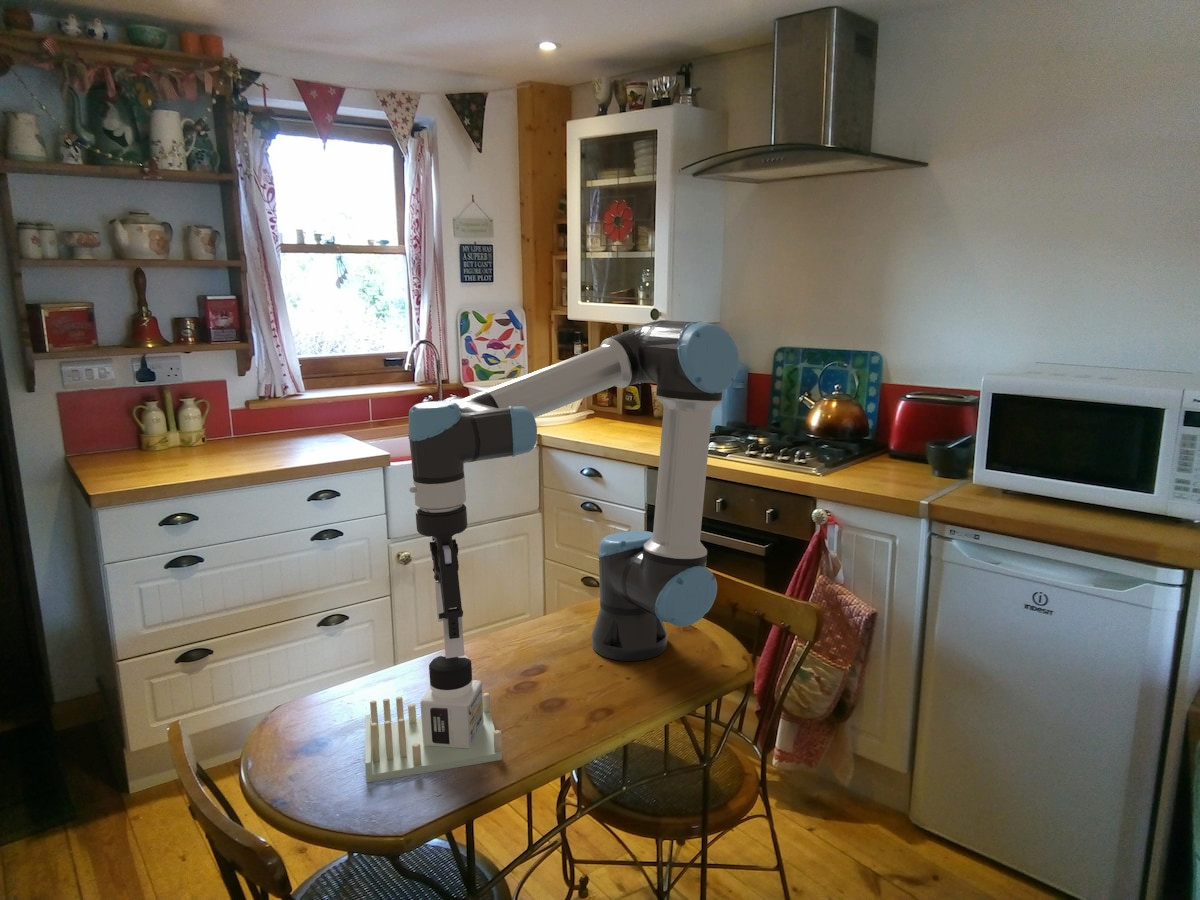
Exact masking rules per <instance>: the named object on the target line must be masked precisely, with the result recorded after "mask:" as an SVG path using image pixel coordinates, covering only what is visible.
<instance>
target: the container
mask: <svg viewBox="0 0 1200 900" xmlns="http://www.w3.org/2000/svg"><path fill="white" fill-rule="evenodd" d="M472 667H473V666H472V660H471V659H470V658H469V657H468V656H467V655H465V656H459V657H453V658H446V656H445V653H444V654H442V655H438V656H437V657H435V658H433V659H432V660H431V662H429V664H428V671H429V673H428V674H429V689H428V690H427V692H426V693H425V694H424V696H423V698H422V699H421V700H420V703H419V704H420V713H421V714H420V715H421V716H420V717H421V719H422V734H423V744H424V745H425V746H437V747H452V748H466V749H469V748H471V746H472V744H473V742H474V740H475V738H476V737H477V735H478V733H479V731H480V729H481V727H482V725H483V723H484V717H483V683H482V680H475V679H474V680H473V672H472V670H473V669H472Z"/></svg>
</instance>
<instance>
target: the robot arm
mask: <svg viewBox="0 0 1200 900" xmlns="http://www.w3.org/2000/svg"><path fill="white" fill-rule="evenodd" d="M599 345H600V346H599V347H597V348H593V349H592V350H588V351H586V352H583V353H581V354H578V355H575V356H572V357H570V358H568V359H565V360H561V361H560V362H557V363H554V364H551V365H549V366H546V367H543V368H541V369H538V370H536V371H533V372H531V373H528V374H525V375H522V376H519V377H517V378H514V379H511V380H509V381H506V382H504V383H501V384H499V385H495V386H493V387H490V388H487V389H486V390H485V389H484V390H482V391H480V392H476V393H473V394H471V395H468V396H466V397H462V396H452V397H447V398H446V399H445V398H444V399H443V400H438V401H425V402H419V403H416V404H414V405H413V406H412V407H411V408H410V409H409V412H408V435H407V436H408V437H407V438H408V440H409V441H408V442H409V450H410V458H411V459H410V461H411V468H412V469H411V470H412V479H413V486H410V487H409V492H410V493H412V494H413V493H414V504H415V506H416V507H417V508H416V510H415V523H416V531H417V533H418V534H420V535H421V536H423V537H429V538H430V537H431V540H430V541H429V550H430V555H431V560H432V561H433V562H432V564H433V567H432V571H433V573H434V575H433V579H434V581H435V582H434V589H435V600H436V601H435V602H436V614H437V622H438V623H439V622H442V626H443V628H442V629H443V639H444V640H443V641H444V654H445V656H446V658H453V657H459V656H466V655H465V645H464V642H465V641H464V631H463V629H464V627H463V616H464V610H463V608H462V607H463V606H462V598H461V587H460V580H459V569H460V568H459V557H458V555H459V545H458V543H457V539H456V538H453V536H454V535H455V536H456V535H458V534H461V533H463V532H464V531H465V530H467V527H468V513H467V506H466V505H465V504H464V503H465V502H467V494H466V493H467V491H466V478H465V469H464V467H465V466H464V464H466V463H473V462H479V461H487V460H493V459H499V458H500V459H501V458H506V457H507V458H508V457H512V458H513V457H515V456H518V455H523V454H527V453H529V452H531V451H533V449H534V447H535V446H536V444H537V440H538V427H537V426H538V425H537V422H536V418H538V417H541V416H542V415H546V414H548V413H550V412H553V411H555V410H557V409H558V410H559V409H560V408H563V407H566V406H568V405H569V404H573V403H575V402H577V401H580V400H583V399H585V398H588V397H590V396H592V395H595V394H597V393H599V392H603V391H604V390H607V389H610V388H612V387H617V388H618V389H625V388H628V387H631V386H633V385H637V384H644V383H647V384H656V391H655V392H656V394H655V398H656V399H657V400H658V401H659V403H660V404H662V408H663V409H662V410H663V411H662V412H663V413H662V422H661V423H662V425H661V433H660V434H661V437H660V446H659V448H660V449H659V458H658V459H659V460H658V469H657V471H658V472H657V482H656V495H655V506H654V516H653V517H654V518H653V531H652V532H651V531H646V530H630V531H629V530H628V531H620V532H616V533H611V534H609V535H606V536H603V538H602V539H601V540H600V542H599V547H598V555H597V557H598V567H599V568H598V569H599V571H598V572H599V575H598V576H599V577H598V580H599V610H598V613H597V616H596V620H595V623H594V626H593V629H592V632H591V646H592V649H593V650H594V652H596V653H597V654H599V656H602V657H603V658H608V659H610V660H616V661H624V662H631V661H632V662H634V661H635V662H636V661H638V662H639V661H643V660H649V659H652V658H653V659H654V658H655V657H657V656H659V655H661V654H662V653H664V652H665V650H666V649H667V647H668V633H667V629H666V627H665V624H664V623H668V624H671V625H673V626H676V627H688V626H691V625H694V624H695V623H697V622H699V621H700V620H702V619H703V618H704V616H705V614H707V613H709V611H710V610H711V608H712V606H713V605H714V603H715V600H716V597H717V593H718V582H717V578H716V576H714V574H713V572H712V570H710V569H709V568H707V557H708V549H707V548H706V547H705V546H704V544H703V543H702V542H701V533H702V524H703V523H702V521H703V512H704V501H705V490H706V489H705V488H706V481H707V480H706V479H707V471H708V469H707V468H708V459H709V458H708V457H709V449H710V438H711V437H710V436H711V425H712V414H713V410H714V409H715V408H716V407H717V406H718V405H720V404H721V403H722V402H723V401H722V400H723V392H725V390H727V389H728V388H730V387H731V385H732V382H733V381H735V380H736V378H737V376H738V372H739V367H740V355H739V350H738V346H737V343H736V342H735V339H734V338H733V337H732V336H731V335H730V333H729V332H728V331H727V330H726V329H725V328H724V327H721V325H717V324H715V323H710V322H704V321H701V320H700V321H685V320H684V321H681V320H679V321H678V320H668V319H665V320H654V321H651V322H647V323H644V324H641V325H639V326H636V327H634V328H631V329H628V330H626V331H623V332H620V333H617V334H616V335H614V336H613V335H612V336H610V337H608V338H605V339H604V340H602V342H601V343H600V344H599Z"/></svg>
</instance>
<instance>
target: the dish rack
mask: <svg viewBox="0 0 1200 900" xmlns="http://www.w3.org/2000/svg"><path fill="white" fill-rule="evenodd" d="M482 697H483V717H484V723H483V725H482V727H481V729H480V731H479V733H478V735H477V737H476V738H475V740H474V742H473V744H472V746H471V748H469V749H466V748H452V747H437V746H425V745H424V744H423V734H422V719H421V718H417V710H416V706H417V705H416V704H415V703H410V704H408V705H407V711H408V720H405V716H404V715H405V714H404V701H403V697H402V696H397V697H396V698H395V704H396V705H395V706H396V715H397V718H396V719H397V721H395V722H392V714H391V702H390V698H384V699H383V700H382V705H383V718H384V719H383V720H384V721H383V723H382V724H379V717H378V703H377V700H374V699H373V700H371V701H369V704H370V706H369V707H370V714H368V715H367V714H366V715H365V716H364V717H365V718H364V721H365V722H364V723H365V725H364V727H365V728H364V729H365V731H364V734H365V736H364V737H365V742H364V744H365V746H364V748H365V754H364V755H365V756H364V757H365V758H364V760H365V761H364V763H365V776H366V783H367V784H368V783H374V782H380V781H381V782H382V781H385V780H391V779H397V778H402V777H410V776H415V775H421V774H425V773H426V774H427V773H433V772H438V771H444V770H451V769H456V768H460V767H461V768H462V767H467V766H473V765H478V764H480V765H481V764H485V763H490V762H497V761H503V753H502V751H503V738H502V737H503V736H502V731H501V730H500V729H499V730H498V729H495V725H494V721H493V718H492V715H491V694H490V693H489V692H484V693H482Z"/></svg>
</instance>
